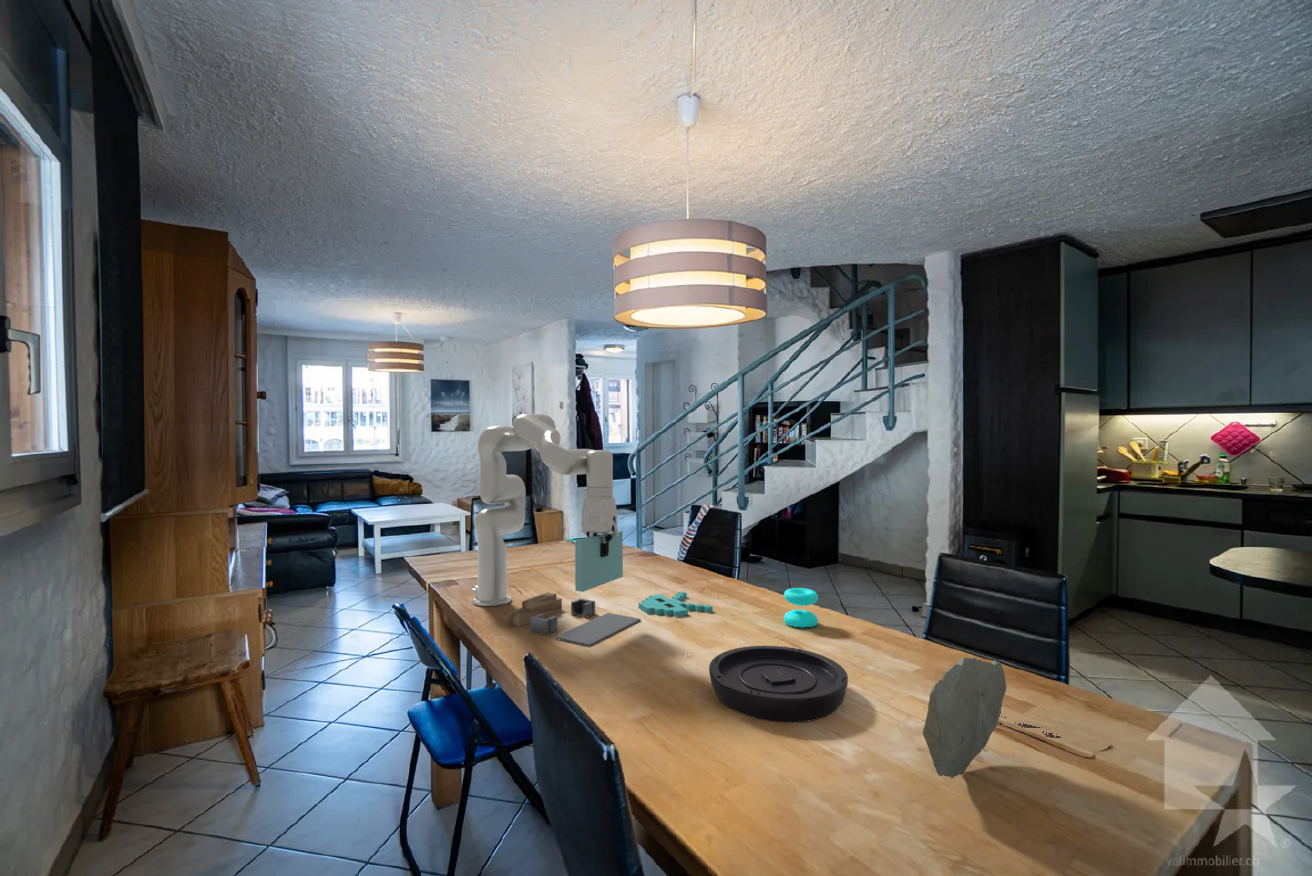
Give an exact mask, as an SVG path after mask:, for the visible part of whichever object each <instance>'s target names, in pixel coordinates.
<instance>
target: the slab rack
mask: <svg viewBox="0 0 1312 876" xmlns="http://www.w3.org/2000/svg"><path fill="white" fill-rule="evenodd" d="M570 602H571V603H570V604H571V605H570V606H571V607H570V609H571V610H570V614H571V615H572V616H576V615H579V614H580V613H582V616H584V617H583V618H586V617H587V616H589V615H591V616H594V615H596V601H595V600H591V599H585V598H578V599H575V600H573V601H570ZM578 613H579V614H578ZM571 615H570V616H571ZM589 617H590V616H589ZM587 618H588V617H587ZM556 630H557V631H558V616H556V615H555V616H554V615H553V616H550V617H548V618H546V616H545V614H539V615H536V616H535V617H531V622H530V632H531V631H532V632H531V633H536V634H540V633H541V635H546V636H547V634H548V635H550V634H551V633H552V634H553V633H555V632H556ZM554 631H555V632H554Z"/></svg>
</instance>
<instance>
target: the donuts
mask: <svg viewBox="0 0 1312 876" xmlns="http://www.w3.org/2000/svg"><path fill="white" fill-rule="evenodd" d="M783 598H784V599H785V601H786V602H788V603H789V604H792V605H796V606H800V607H801V606H802V607H803V606H805V607H807V606H811V605H814V604H815V603H816V602H817V601H818V599H819V595H818V593H817V591H815V590H813V589H810V588H804V587H792V588H788V589H786V590H785V591H784V593H783ZM783 621H784V623H785V625H788V626H789V627H792V626H794V627H793V628H796V627H801V628H800V629H805V628H804V627H811V628H814V627H816V626H817V625H818V623H819V617H818V616H817V615H816V614H815V613H814V612H812V611H810V610H805V609H793V610H789V611H787V612H786V613H785V614H784V616H783ZM813 626H814V627H813ZM802 627H803V628H802Z"/></svg>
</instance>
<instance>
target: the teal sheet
mask: <svg viewBox="0 0 1312 876" xmlns="http://www.w3.org/2000/svg"><path fill="white" fill-rule="evenodd" d="M618 531H619V535H617V536H615V537H613V538H612V539H611V541H610V542H609V553H608V556H605V557H601V543H602V533H598V535H595V536H591V537H587V536H586V537H584V538H581V539H580V538H579V539H576V540H575V541H574V544H575V547H574V549H575V550H574V553H575V554H574V555H575V560H574V561H575V563H574V564H575V566H574V567H575V571H574V572H575V577H574V579H575V581H574V582H575V583H574V585H575V591H576V592H581V593H582V592H586V591H589V590H592V589H594V588H597V587H599V586H602V585H605V584H608V583H610V582H613V581H615V580H618V579H619V580H620V578H623V577H624V576H623V575H624V573H623V571H624V570H623V567H624V565H623V564H624V562H623V561H624V560H623V559H624V554H623V553H624V551H623V549H624V547H623V545H624V543H623V539H624V538H623V533H624V532H623V530H618ZM611 533H612V531H610V534H611Z"/></svg>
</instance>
